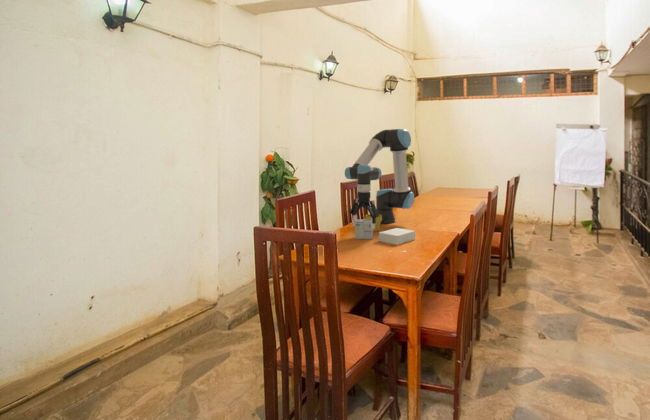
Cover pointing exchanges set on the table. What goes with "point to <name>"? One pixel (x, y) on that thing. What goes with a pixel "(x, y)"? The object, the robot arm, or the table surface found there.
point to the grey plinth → (396, 236)
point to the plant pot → (378, 221)
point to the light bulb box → (363, 229)
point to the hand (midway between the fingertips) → (363, 227)
